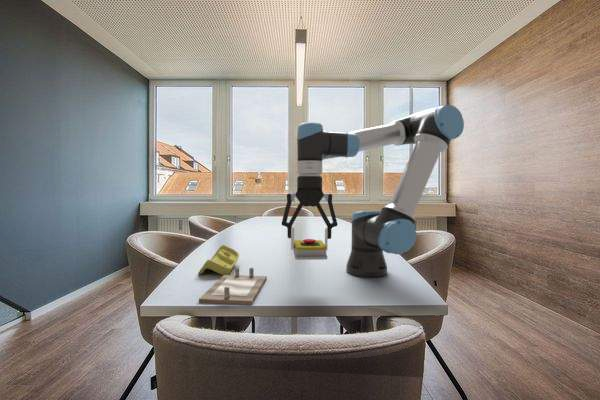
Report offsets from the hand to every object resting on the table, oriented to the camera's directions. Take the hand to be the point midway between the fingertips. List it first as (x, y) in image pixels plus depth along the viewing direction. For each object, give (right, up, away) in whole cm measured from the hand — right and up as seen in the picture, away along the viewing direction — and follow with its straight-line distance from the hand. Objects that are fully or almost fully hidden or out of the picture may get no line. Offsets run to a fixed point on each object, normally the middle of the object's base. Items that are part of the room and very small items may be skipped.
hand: (309, 249), depth 97 cm
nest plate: (-23, -13, +2) cm, 26 cm away
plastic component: (-33, -12, +26) cm, 44 cm away
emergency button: (0, -2, +1) cm, 2 cm away
